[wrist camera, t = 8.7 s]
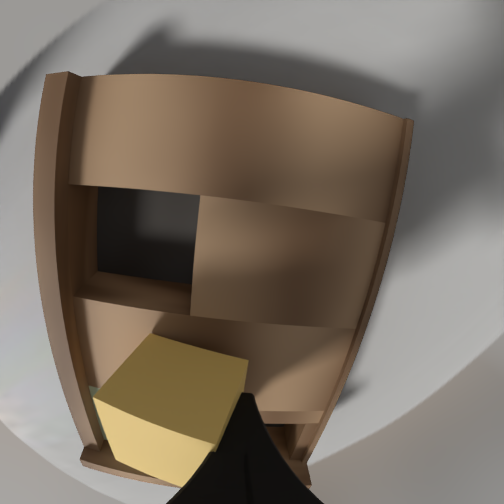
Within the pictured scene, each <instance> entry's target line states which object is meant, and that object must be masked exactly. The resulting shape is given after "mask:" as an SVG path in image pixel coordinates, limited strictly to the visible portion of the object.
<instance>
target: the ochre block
mask: <svg viewBox="0 0 504 504" xmlns="http://www.w3.org/2000/svg"><path fill="white" fill-rule="evenodd" d="M248 361H249V360H246V359H241V358H237V357H233V356H229V355H225V354H221V353H217V352H213V351H210V350H206V349H202V348H198V347H195V346H191V345H188V344H184V343H181V342H178V341H174V340H171V339H168V338H164V337H161V336H158V335H155V334H152V333H150V334H149V335H148V336H147V337H146V338H145V339H144V340H143V341H142V342H141V344H140V345H139V346H138V347H137V348H136V349H135V350H134V351H133V352H132V353H131V355H130V356H129V357H128V358H127V359H126V360H125V361H124V362H123V363H122V365H121V366H120V367H119V368H118V369H117V370H116V371H115V372H114V373H113V375H112V376H111V377H110V378H109V379H108V380H107V381H106V382H105V384H104V385H103V386H102V387H101V388H100V389H99V390H98V391H97V393H96V394H95V395H94V396H93V399H94V403H95V406H96V409H97V412H98V415H99V418H100V420H101V423H102V426H103V429H104V431H105V434H106V437H107V439H108V442H109V444H110V447H111V449H112V452H113V454H114V457H115V459H116V460H117V461H119V462H121V463H124V464H126V465H128V466H130V467H132V468H134V469H137V470H139V471H141V472H144V473H146V474H148V475H151V476H153V477H156V478H158V479H161V480H164V481H166V482H169V483H172V484H174V485H177V486H180V487H183V486H184V485H185V484H186V483H187V481H188V480H189V479H190V478H191V477H192V475H193V474H194V473H195V471H196V470H197V469H198V467H199V466H200V465H201V463H202V462H203V460H204V459H205V457H206V456H207V454H208V453H209V452H212V451H214V452H216V450H217V448H218V445H219V443H220V441H221V438H222V436H223V434H224V432H225V429H226V427H227V425H228V422H229V420H230V418H231V415H232V413H233V411H234V408H235V406H236V404H237V401H238V399H239V397H240V395H241V393H242V392H244V386H245V380H246V374H247V367H248Z"/></svg>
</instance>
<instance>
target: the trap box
mask: <svg viewBox="0 0 504 504" xmlns="http://www.w3.org/2000/svg"><path fill="white" fill-rule="evenodd" d="M413 125H414V121H413V120H411V119H408V118H406V119H402V118H399V117H397V116H394V115H391V114H388V113H385V112H382V111H379V110H375V109H372V108H369V107H366V106H362V105H359V104H355V103H352V102H348V101H344V100H341V99H337V98H333V97H329V96H325V95H320V94H316V93H312V92H307V91H302V90H298V89H293V88H287V87H282V86H276V85H271V84H264V83H258V82H251V81H244V80H236V79H227V78H217V77H206V76H193V75H173V74H117V75H98V76H85V77H81V76H78V75H76V74H74V73H71V72H69V71H67V72H60V73H53V74H46V78H45V82H44V88H43V93H42V99H41V105H40V111H39V118H38V126H37V135H36V146H35V159H34V180H33V217H34V239H35V252H36V263H37V272H38V280H39V287H40V294H41V300H42V306H43V312H44V317H45V323H46V327H47V332H48V337H49V341H50V345H51V349H52V354H53V357H54V361H55V365H56V369H57V372H58V376H59V379H60V382H61V385H62V389H63V392H64V395H65V398H66V401H67V404H68V407H69V409H70V412H71V415H72V418H73V420H74V423H75V426H76V428H77V431H78V433H79V435H80V438H81V440H82V443H83V445H84V449H83V452H82V454H81V457H80V461H81V463H82V465H83V466H85V467H88V468H91V469H94V470H98V471H101V472H105V473H109V474H112V475H116V476H120V477H124V478H129V479H133V480H138V481H143V482H148V483H153V484H159V485H164V486H171V487H178V488H182V487H180V486H177V485H174V484H172V483H169V482H166V481H164V480H161V479H158V478H156V477H153V476H151V475H148V474H146V473H144V472H141V471H139V470H137V469H134V468H132V467H130V466H128V465H126V464H124V463H121V462H119V461H117V460H116V459H115V457H114V454H113V452H112V449H111V447H110V444H109V442H108V439H107V437H106V434H105V431H104V429H103V426H102V423H101V420H100V418H99V415H98V412H97V409H96V406H95V403H94V399H93V396H94V395H95V394H96V393H97V391H98V390H99V389H100V388H101V387H102V386H103V385H104V384H105V382H106V381H107V380H108V379H109V378H110V377H111V376H112V375H113V373H114V372H115V371H116V370H117V369H118V368H119V367H120V366H121V365H122V363H123V362H124V361H125V360H126V359H127V358H128V357H129V356H130V355H131V353H132V352H133V351H134V350H135V349H136V348H137V347H138V346H139V345H140V344H141V342H142V341H143V340H144V339H145V338H146V337H147V336H148V335H149V334H150V333H152V334H155V335H158V336H161V337H164V338H168V339H171V340H174V341H178V342H181V343H184V344H188V345H191V346H195V347H198V348H202V349H206V350H210V351H213V352H217V353H221V354H225V355H229V356H233V357H237V358H241V359H246V360H249V361H248V367H247V374H246V380H245V386H244V392H245V393H252V394H253V395H254V397H255V400H256V404H257V407H258V410H259V412H260V415H261V417H262V420H263V422H264V424H265V426H266V428H267V430H268V432H269V434H270V436H271V438H272V440H273V442H274V444H275V445H276V447H277V449H278V450H279V452H280V454H281V455H282V457H283V458H284V460H285V461H286V463H287V464H288V465H289V467H290V468H291V469H292V471H293V472H294V473H295V474H296V476H297V477H298V478H299V479H300V480H301V482H302V483H303V484H304V485H305V486H306V487H307V488H308V489H309V488H310V487H311V485H312V484H311V480H310V475H309V471H308V467H307V461H308V460H309V458H310V456H311V454H312V452H313V450H314V448H315V446H316V444H317V442H318V440H319V438H320V436H321V434H322V432H323V430H324V428H325V426H326V424H327V422H328V420H329V418H330V416H331V414H332V412H333V409H334V407H335V405H336V403H337V401H338V398H339V396H340V394H341V391H342V389H343V387H344V384H345V382H346V380H347V377H348V375H349V372H350V370H351V367H352V365H353V362H354V360H355V357H356V355H357V352H358V349H359V347H360V344H361V341H362V339H363V336H364V333H365V330H366V327H367V324H368V322H369V319H370V316H371V313H372V310H373V307H374V303H375V300H376V297H377V294H378V291H379V287H380V284H381V281H382V277H383V274H384V270H385V267H386V263H387V259H388V256H389V252H390V248H391V244H392V240H393V236H394V232H395V228H396V223H397V219H398V214H399V210H400V205H401V200H402V195H403V190H404V185H405V179H406V174H407V168H408V162H409V155H410V148H411V141H412V133H413Z"/></svg>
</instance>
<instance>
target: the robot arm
mask: <svg viewBox="0 0 504 504" xmlns="http://www.w3.org/2000/svg"><path fill="white" fill-rule="evenodd" d="M166 504H324V503H322V502H321V501H320V500H319V499H318V498H317V497H316V496H315V495H314V494H313V493H312V492H311V491H310V490H309V489H308V488H307V487H306V486H305V485H304V484H303V483H302V482H301V480H300V479H299V478H298V477H297V476H296V474H295V473H294V472H293V471H292V469H291V468H290V467H289V465H288V464H287V463H286V461H285V460H284V458H283V457H282V455H281V454H280V452H279V450H278V449H277V447H276V445H275V444H274V442H273V440H272V438H271V436H270V434H269V432H268V430H267V428H266V426H265V424H264V422H263V420H262V417H261V415H260V412H259V410H258V407H257V404H256V400H255V397H254V395H253V394H252V393H245V392H242V393H241V395H240V397H239V399H238V401H237V404H236V406H235V408H234V411H233V413H232V415H231V418H230V420H229V422H228V425H227V427H226V429H225V432H224V434H223V436H222V438H221V441H220V443H219V445H218V448H217V450H216V452H214V451H212V452H209V453H208V454H207V456H206V457H205V459H204V460H203V462H202V463H201V465H200V466H199V467H198V469H197V470H196V471H195V473H194V474H193V475H192V477H191V478H190V479H189V480H188V481H187V483H186V484H185V485H184V486H183V487H182V488H181V489H180V490H179V491H178V492H177V493H176V494H175V495H174V497H173V498H171V499H170V500H169V501H168V502H167V503H166Z"/></svg>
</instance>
